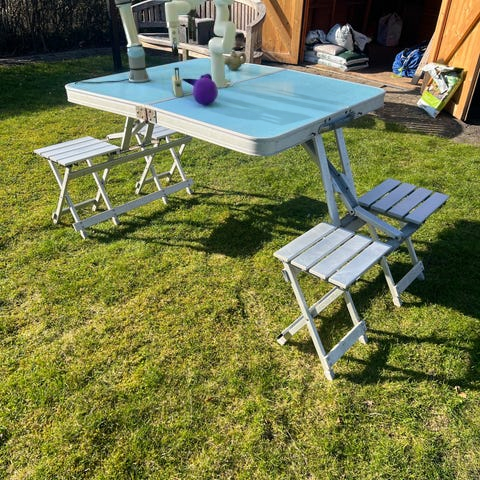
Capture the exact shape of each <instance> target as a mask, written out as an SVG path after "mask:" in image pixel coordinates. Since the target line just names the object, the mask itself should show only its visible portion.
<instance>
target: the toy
mask: <svg viewBox="0 0 480 480" xmlns="http://www.w3.org/2000/svg"><path fill="white" fill-rule="evenodd" d="M181 80H182V82H185V83H187V84H189V85H191V86H192V87H193V89H192V95H193V98H194V100H195V101H196V103H198V104H199V105H202V106H209V105H212V104H213V103H214V102H215V101H216V99H217V98H218V94H219V90H218V88H217V86H216V84H215V82H214V81H212V76H211V73H205V74H202V75H200V77H199V78H198V79H197V78H181Z"/></svg>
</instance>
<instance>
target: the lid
mask: <svg viewBox="0 0 480 480" xmlns="http://www.w3.org/2000/svg"><path fill="white" fill-rule="evenodd" d="M172 78H173V80H174V82H182V83H183V80H182V78H181V77H180V67H178V66H177V67H174V74H173V75H171V79H172Z"/></svg>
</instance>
